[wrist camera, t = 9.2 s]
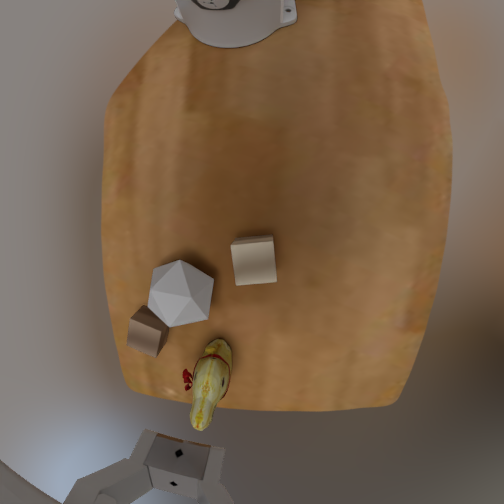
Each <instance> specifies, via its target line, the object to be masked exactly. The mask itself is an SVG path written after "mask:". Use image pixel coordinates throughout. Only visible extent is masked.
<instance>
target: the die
mask: <svg viewBox="0 0 504 504" xmlns="http://www.w3.org/2000/svg"><path fill="white" fill-rule="evenodd" d="M213 283H214V279H213V278H211V277H210V276H208V275H206V274H205V273H203V272H202V271H200V270H198V269H197V268H195V267H194V266H192V265H190V264H189V263H186V262H184V261H182V260H177V261H175V262H172V263H169V264H166V265H163V266H160V267H157V268H154V269H153V275H152V281H151V288H150V294H149V301H148V308H149V309H150V310H151V311H153V312H154V313H155V314H156V315H157V316H158V317H159V318H160V319H161V320H162V321H163V322H164V323H165V324H166V325H167V326H169V327H174V326H179V325H183V324H188V323H193V322H197V321H202V320H206V319H208V316H209V309H210V303H211V296H212V290H213Z"/></svg>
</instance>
